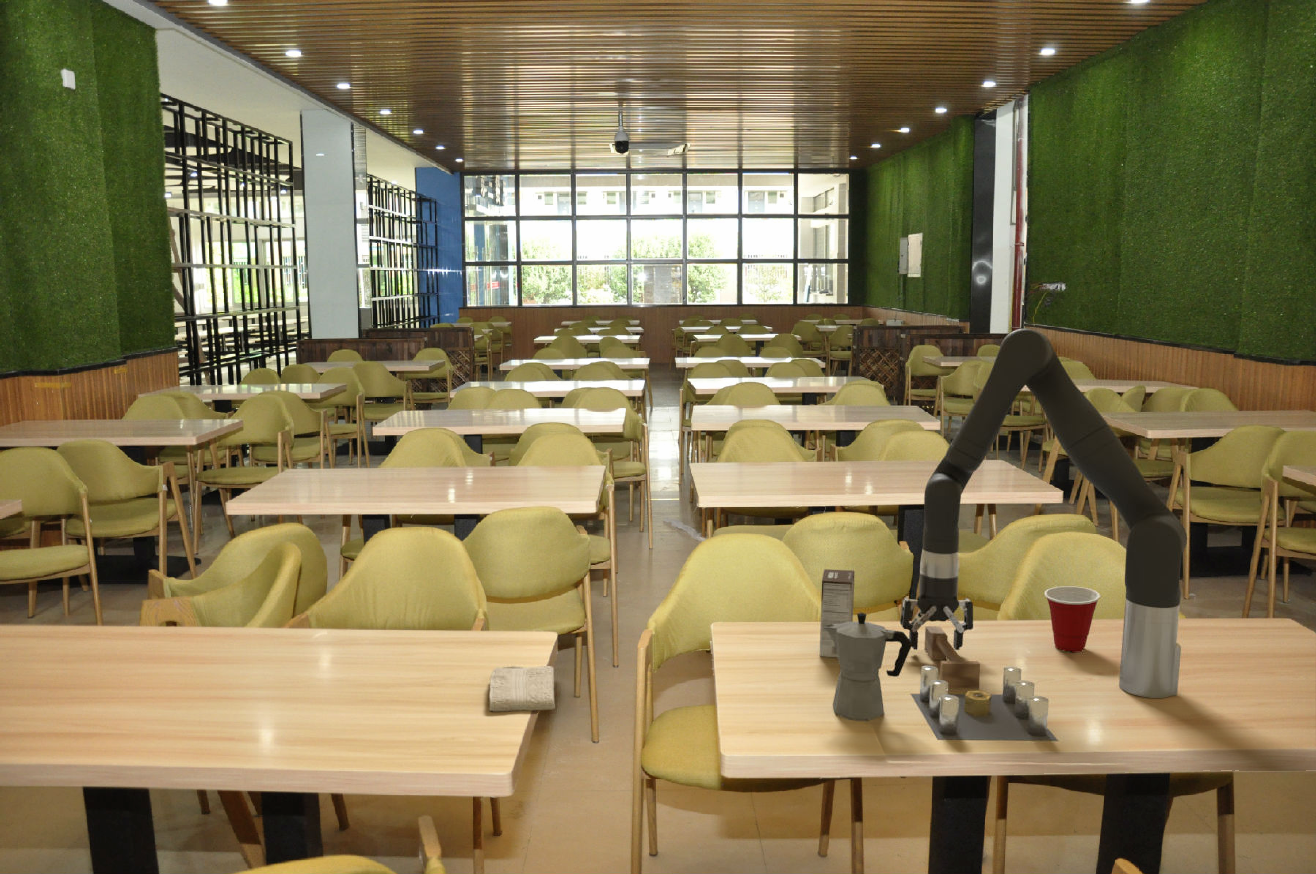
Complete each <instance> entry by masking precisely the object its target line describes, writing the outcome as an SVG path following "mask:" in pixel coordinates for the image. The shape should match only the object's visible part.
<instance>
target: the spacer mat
mask: <svg viewBox="0 0 1316 874" xmlns="http://www.w3.org/2000/svg"><path fill="white" fill-rule="evenodd" d="M988 694H989V693H988ZM948 695H953V696H956V697H958V698H959V710H958V729H957V734H956V735H954V736H947V735H943V734H941V733H940V732H939V719H936V718H932V717H930V716H929V703H925V702H922V701H920V693H910V696H911V697H912V698H913V700H914V703H916V706H917V707H918V709H919V710H920V712H921V714H922V715H923V717H924V719H925V721H926V722H927V724H928V726H929V727H930V729H931V732H932V733H933V734H934V736H935V738H936V739H937V740H938V741H939V740H940V741H944V740H945V741H1014V742H1016V741H1021V742H1023V741H1025V742H1026V741H1027V742H1028V741H1029V742H1037V741H1038V742H1045V741H1046V742H1059V740H1058V739H1057V737H1055V735H1054V734H1053V733H1052V732H1051V730H1050V729H1049V728H1048V727H1047V733H1046V736H1043V737H1037V736H1033V735H1030V734H1029V733H1028V720H1023V719H1019V718H1016V717H1015V716H1014V714H1015V704H1008V703H1005V702H1003V701H1002V694H992V693H991V694H989V695H991V709H990V713H989V714H988V716H973V715H971V714H969V713H967V712H965V711H964V707H965V695H966V693H964V694H963V693H948Z"/></svg>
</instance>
